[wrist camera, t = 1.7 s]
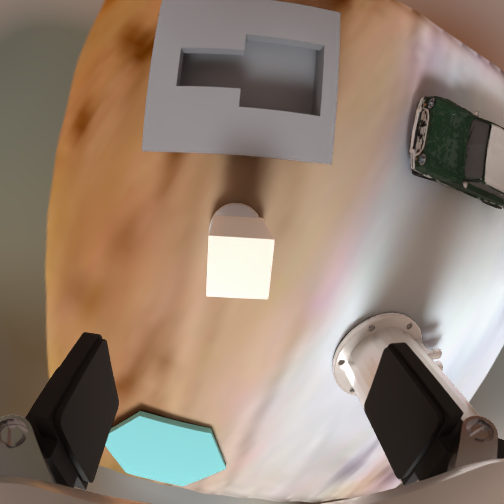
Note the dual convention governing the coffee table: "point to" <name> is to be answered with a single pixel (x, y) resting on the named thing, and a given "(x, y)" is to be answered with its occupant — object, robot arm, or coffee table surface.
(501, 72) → the coffee table surface
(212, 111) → the keyhole board
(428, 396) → the robot arm
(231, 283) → the keyhole peg
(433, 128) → the miniature car
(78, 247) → the coffee table surface
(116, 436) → the plaque
